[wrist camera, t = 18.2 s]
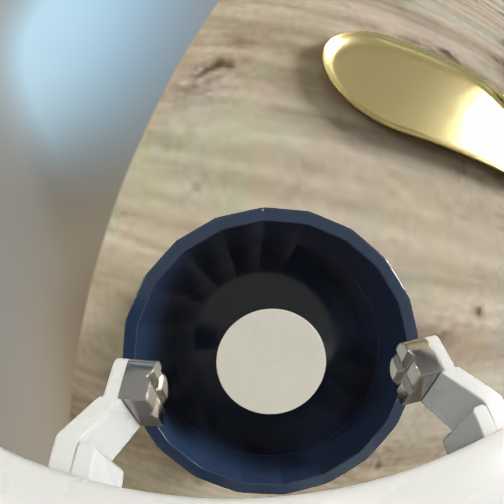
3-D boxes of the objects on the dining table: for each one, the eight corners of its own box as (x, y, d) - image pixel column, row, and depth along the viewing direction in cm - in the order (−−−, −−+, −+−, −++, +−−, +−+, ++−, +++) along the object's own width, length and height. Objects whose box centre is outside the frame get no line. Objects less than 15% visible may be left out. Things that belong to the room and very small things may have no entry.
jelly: (237, 391, 22) (230, 423, 14) (221, 322, 24) (205, 321, 16) (308, 374, 23) (335, 398, 15) (293, 306, 24) (312, 297, 16)
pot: (194, 454, 21) (168, 507, 13) (150, 271, 25) (102, 245, 16) (380, 409, 22) (431, 440, 13) (337, 229, 26) (374, 185, 17)
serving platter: (322, 26, 33) (324, 18, 31) (511, 102, 31) (515, 97, 30) (315, 117, 29) (318, 108, 27) (538, 197, 27) (545, 194, 25)
